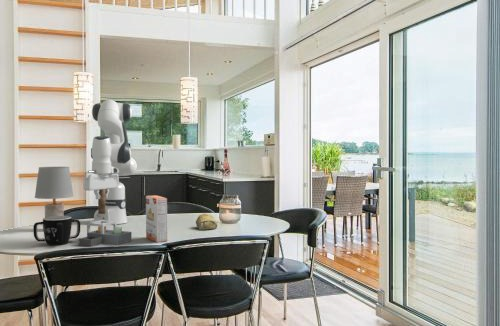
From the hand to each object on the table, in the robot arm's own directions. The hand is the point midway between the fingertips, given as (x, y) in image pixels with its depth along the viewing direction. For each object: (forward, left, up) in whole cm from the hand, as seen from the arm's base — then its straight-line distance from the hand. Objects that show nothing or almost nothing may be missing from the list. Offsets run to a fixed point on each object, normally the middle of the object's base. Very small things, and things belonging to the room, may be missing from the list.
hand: (101, 198), depth 205 cm
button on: (+9, 0, -18) cm, 20 cm away
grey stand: (+4, 0, -20) cm, 20 cm away
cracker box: (+23, +11, -20) cm, 33 cm away
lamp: (-42, +10, -20) cm, 47 cm away
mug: (-13, -15, -20) cm, 28 cm away
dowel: (0, 0, -7) cm, 7 cm away
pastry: (+30, +48, -20) cm, 61 cm away
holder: (+2, -10, -20) cm, 22 cm away
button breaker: (0, 0, -18) cm, 18 cm away
